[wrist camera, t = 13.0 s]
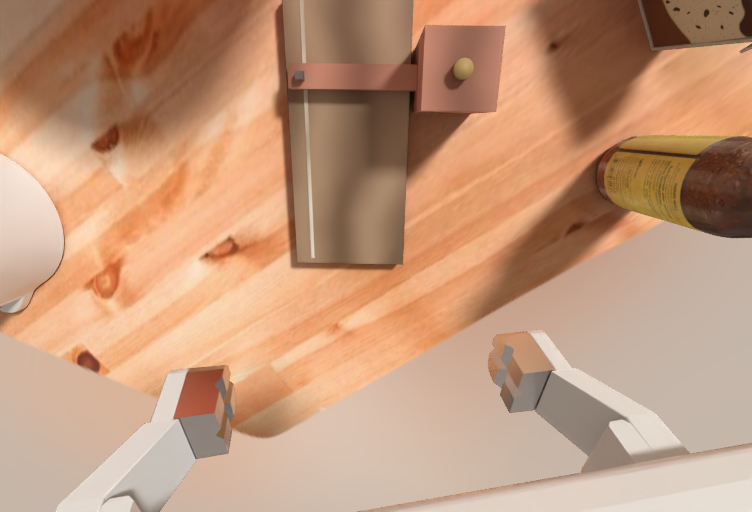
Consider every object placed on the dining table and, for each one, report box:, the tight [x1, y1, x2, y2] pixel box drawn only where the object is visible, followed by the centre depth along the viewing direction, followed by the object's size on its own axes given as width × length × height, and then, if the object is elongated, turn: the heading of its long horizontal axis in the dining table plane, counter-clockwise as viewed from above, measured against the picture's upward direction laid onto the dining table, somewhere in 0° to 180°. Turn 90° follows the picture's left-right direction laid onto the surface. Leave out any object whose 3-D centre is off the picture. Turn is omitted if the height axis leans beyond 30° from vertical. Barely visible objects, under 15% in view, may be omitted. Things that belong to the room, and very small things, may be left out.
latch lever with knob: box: [287, 25, 506, 114], centre depth 28 cm, size 15×5×9 cm, turn 89°
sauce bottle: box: [596, 135, 752, 238], centre depth 25 cm, size 7×6×20 cm
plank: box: [282, 0, 413, 265], centre depth 33 cm, size 10×22×2 cm, turn 179°
